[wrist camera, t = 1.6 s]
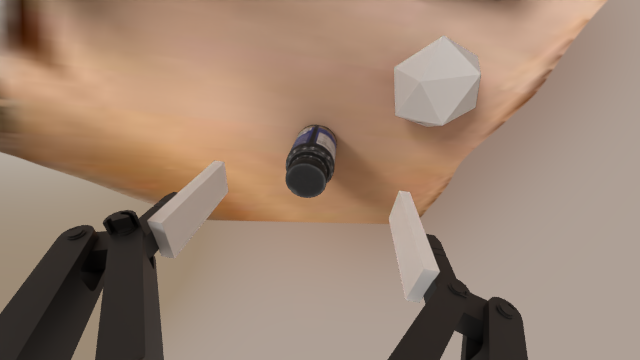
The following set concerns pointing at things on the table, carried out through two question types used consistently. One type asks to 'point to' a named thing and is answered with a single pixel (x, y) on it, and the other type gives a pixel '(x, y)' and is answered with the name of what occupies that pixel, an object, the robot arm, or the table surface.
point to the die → (437, 83)
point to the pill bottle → (311, 161)
